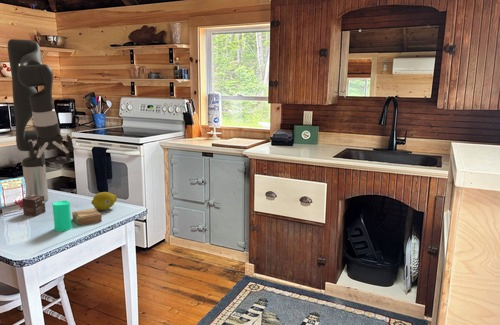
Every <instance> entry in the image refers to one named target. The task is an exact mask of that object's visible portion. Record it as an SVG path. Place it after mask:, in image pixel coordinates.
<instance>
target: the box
mask: <svg viewBox="0 0 500 325" xmlns="http://www.w3.org/2000/svg"><path fill="white" fill-rule="evenodd" d="M21 200H22V211H23V215H24V216H33V217H37V216H40V215H42V214H44V213H46V203H45V202H46V201H44V196H38V195H31V196H28V197H26V196H25V197H24V198H22V199H21Z"/></svg>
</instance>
